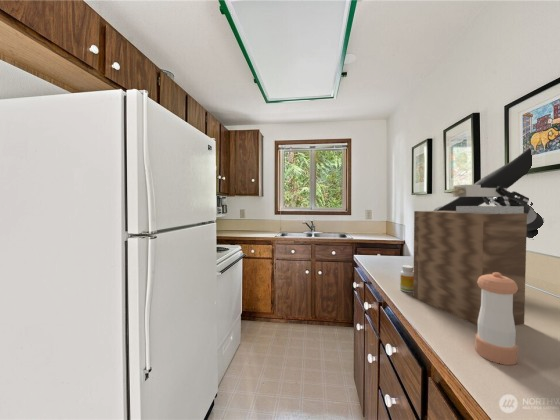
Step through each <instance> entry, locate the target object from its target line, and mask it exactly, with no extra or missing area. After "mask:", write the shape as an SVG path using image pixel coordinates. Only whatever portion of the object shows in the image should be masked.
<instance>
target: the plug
mask: <svg viewBox="0 0 560 420" xmlns="http://www.w3.org/2000/svg"><path fill="white" fill-rule="evenodd" d="M504 189H505V190H506V191H508V188H504ZM451 194H452V197H454V198H458V197H503V196H501V195H500V194H498V193H497V192H496V188H481V185H473V184H459V185H455V184H454V185H453V187H452V190H451Z"/></svg>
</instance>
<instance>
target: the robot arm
mask: <svg viewBox="0 0 560 420" xmlns="http://www.w3.org/2000/svg"><path fill="white" fill-rule="evenodd" d="M531 166H532V155H531V150H530V148H529V147H528V148H527V149H526V150H524V151H523V152H522V153H520V154H519V155H518V156H516V158H514V159H513V160H511V161H510V162H508V163H506V164H505V165H502V166H501V167H499V168H497V169H495V170H494V171H492V172H490V173H489V174H487V175H484V177H482V178H481V179H479V180H478V181H476V182H475V183H474V184H472V185H481V188H496V192H497V193H498V194H500V195H501V196H503V197H456V198H455V199H453V200H451V201H449V202H448V203H445V204H444V205H441V206H437V207H436V208H434V209H433V211H456V206H482V204H485V205H486V206H491V205H490V204H494V206H524V213H527V232H526V238H528V239H530V238H533V237H534V236H536V235H537V234H538V230H537V229H538V228H540V227H541V226H542V225H543V223H544V222H545V220H544V218H542V217H541V216H540V215H539V214H538V213H536V212H535V211H534V209H533V208H532V207H531V206H532V205H533V203H532V202H531V204H530V205H531V206H529V197H527V196H525V195H524V194H521V193H519V192H517V191H515V190H514V191H511V192H510V190H507V191H506V190H505V189H504V188H507V189H509V188H510V187H512V186H513V185H514V184H515V183H516V182H518V181H519V180H520V179H521V178H523V177H524V176H526V175H528V174H527V173H528V171H529V169H530V168H531Z"/></svg>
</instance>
